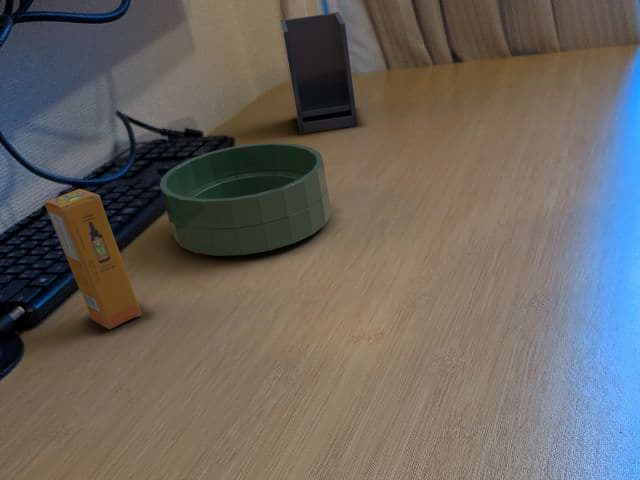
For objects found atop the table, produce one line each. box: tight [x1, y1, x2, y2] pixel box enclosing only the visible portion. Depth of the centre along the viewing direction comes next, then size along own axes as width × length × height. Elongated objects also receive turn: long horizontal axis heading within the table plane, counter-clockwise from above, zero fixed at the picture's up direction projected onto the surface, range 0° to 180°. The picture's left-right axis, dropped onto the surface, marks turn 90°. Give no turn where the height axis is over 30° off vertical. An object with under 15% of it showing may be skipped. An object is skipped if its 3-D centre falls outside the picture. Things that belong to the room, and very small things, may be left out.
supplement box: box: [44, 188, 142, 330], centre depth 65 cm, size 3×3×10 cm
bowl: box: [159, 142, 332, 257], centre depth 78 cm, size 15×15×6 cm
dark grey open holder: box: [279, 11, 359, 135], centre depth 101 cm, size 7×7×11 cm
